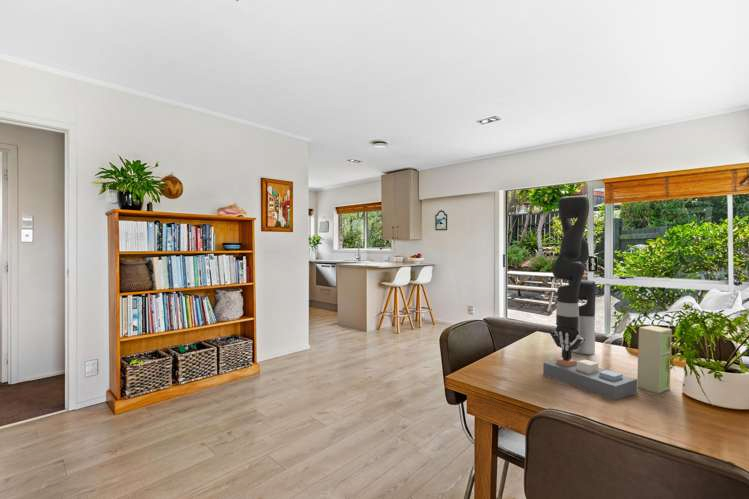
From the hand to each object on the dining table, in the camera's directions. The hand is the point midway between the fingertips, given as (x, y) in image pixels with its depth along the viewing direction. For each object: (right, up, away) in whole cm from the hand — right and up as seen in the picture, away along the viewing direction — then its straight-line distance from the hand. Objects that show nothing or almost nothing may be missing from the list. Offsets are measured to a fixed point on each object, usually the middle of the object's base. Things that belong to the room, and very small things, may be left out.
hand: (566, 359), depth 139 cm
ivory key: (+4, -3, -7) cm, 8 cm away
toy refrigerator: (+25, -7, -11) cm, 28 cm away
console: (+4, -6, -7) cm, 10 cm away
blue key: (+8, -4, -14) cm, 17 cm away
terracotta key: (0, -4, 0) cm, 4 cm away
